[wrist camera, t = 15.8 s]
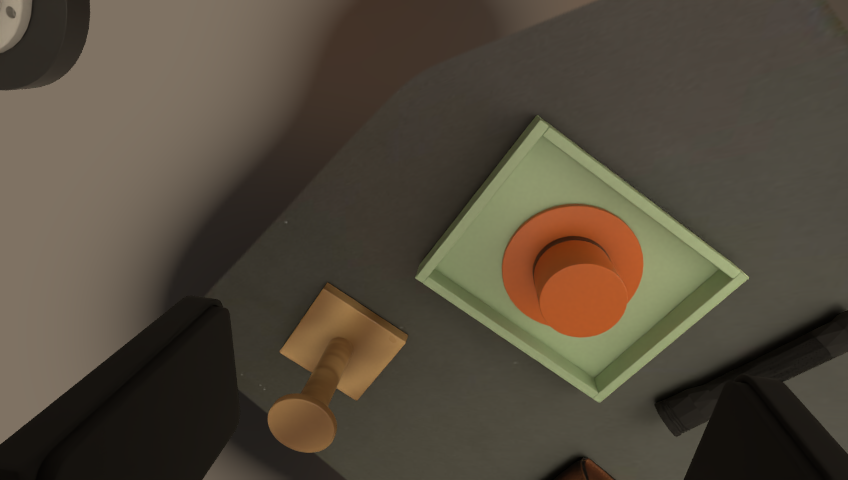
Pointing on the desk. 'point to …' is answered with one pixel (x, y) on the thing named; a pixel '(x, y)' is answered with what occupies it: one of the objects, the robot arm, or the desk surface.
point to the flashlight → (757, 373)
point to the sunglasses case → (584, 472)
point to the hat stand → (331, 366)
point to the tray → (592, 185)
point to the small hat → (573, 268)
